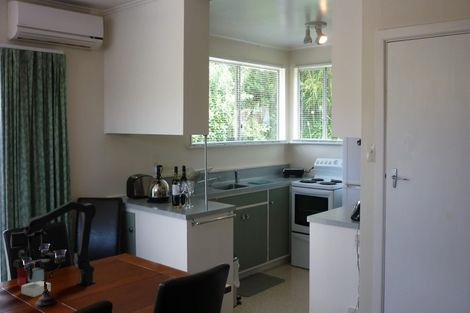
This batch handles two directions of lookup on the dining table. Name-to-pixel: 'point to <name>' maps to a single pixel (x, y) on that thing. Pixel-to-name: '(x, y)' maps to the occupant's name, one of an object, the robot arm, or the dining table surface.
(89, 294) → the dining table surface
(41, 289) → the base box
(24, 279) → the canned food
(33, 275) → the block
